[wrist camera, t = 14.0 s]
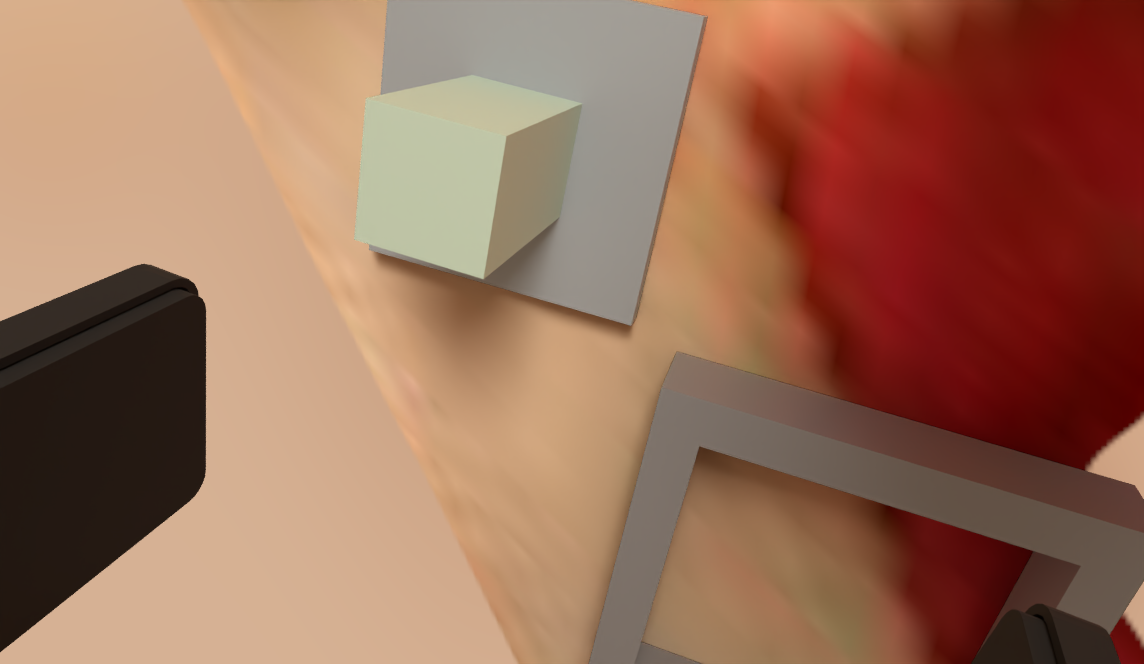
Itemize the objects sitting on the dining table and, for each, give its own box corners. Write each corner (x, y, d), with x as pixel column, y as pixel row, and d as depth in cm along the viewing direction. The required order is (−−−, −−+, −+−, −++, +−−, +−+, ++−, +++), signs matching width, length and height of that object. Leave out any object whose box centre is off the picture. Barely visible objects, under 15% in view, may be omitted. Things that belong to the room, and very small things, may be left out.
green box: (472, 75, 31) (365, 97, 24) (582, 103, 30) (506, 136, 23) (456, 187, 33) (354, 239, 26) (559, 216, 32) (483, 279, 25)
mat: (403, -48, 31) (391, -50, 30) (707, 16, 29) (703, 16, 28) (380, 243, 36) (369, 249, 35) (636, 317, 34) (631, 325, 33)
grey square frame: (676, 351, 34) (661, 387, 31) (1134, 485, 30) (1169, 540, 27) (595, 655, 41) (576, 708, 38) (953, 789, 38) (965, 859, 35)
